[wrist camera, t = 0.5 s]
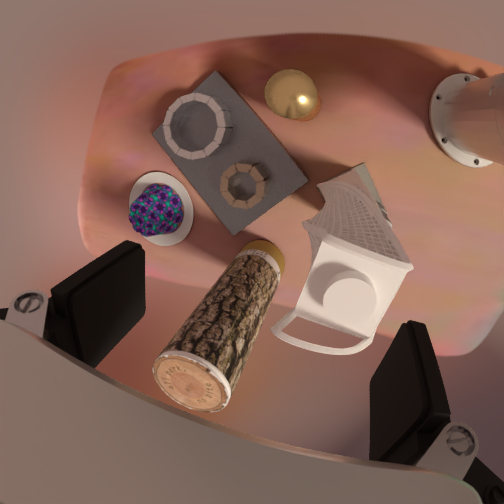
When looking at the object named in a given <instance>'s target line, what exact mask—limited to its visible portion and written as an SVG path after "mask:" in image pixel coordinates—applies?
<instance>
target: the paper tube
mask: <svg viewBox="0 0 504 504" xmlns="http://www.w3.org/2000/svg"><path fill="white" fill-rule="evenodd" d="M284 266H285V261H284V257H283V254H282V253H281V251H280V250H279V249H278V247H276V246H275V245H274V244H272V243H270V242H268V241H264V240H256V241H252V242H250V243H248V244H246V245H245V246H244V247H243V248H242V250H241V251H240V252H239V253H238V255H237V256H236V257H235V258H234V260H233V261H232V262H231V263H230V265H229V266H228V267H227V269H226V270H225V271H224V272H223V274H222V275H221V276H220V277H219V279H218V280H217V281H216V283H215V284H214V285H213V286H212V288H211V289H210V290H209V292H208V293H207V294H206V295H205V297H204V298H203V299H202V301H201V302H200V303H199V305H198V306H197V307H196V308H195V310H194V311H193V312H192V314H191V315H190V316H189V318H188V319H187V320H186V322H185V323H184V324H183V325H182V327H181V328H180V329H179V330H178V332H177V333H176V334H175V336H174V337H173V338H172V340H171V341H170V342H169V343H168V345H167V346H166V347H165V349H164V350H163V351H162V352H161V354H160V355H159V356H158V358H157V360H156V361H155V363H154V365H153V374H154V377H155V380H156V382H157V383H158V385H159V386H160V388H161V389H162V390H163V391H164V392H165V393H166V394H167V395H168V396H169V397H171V398H172V399H173V400H175V401H176V402H178V403H179V404H181V405H183V406H185V407H188V408H190V409H193V410H196V411H202V412H215V411H219V410H221V409H223V408H224V407H225V406H226V405H227V403H228V401H229V400H230V398H231V395H232V393H233V391H234V389H235V386H236V384H237V382H238V380H239V377H240V375H241V373H242V370H243V368H244V366H245V363H246V361H247V358H248V356H249V354H250V352H251V349H252V347H253V344H254V342H255V340H256V338H257V335H258V333H259V330H260V328H261V326H262V323H263V321H264V318H265V316H266V313H267V311H268V309H269V306H270V304H271V301H272V299H273V296H274V294H275V291H276V289H277V286H278V284H279V281H280V278H281V276H282V273H283V271H284Z"/></svg>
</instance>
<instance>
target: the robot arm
mask: <svg viewBox="0 0 504 504" xmlns="http://www.w3.org/2000/svg"><path fill="white" fill-rule="evenodd" d="M464 78H465V79H466V81H465V79H464ZM436 96H437V97H438V98H439V99H438V100H437V99H436ZM429 119H430V124H431V128H432V131H433V134H434V137H435V138H436V140H437V142H438V144H439V146H440V147H441V148H442V149H443V151H444V152H445V153H446V154H447V155H448V156H449V157H450V158H451V159H453V160H455V161H456V162H458V163H460V164H462V165H465V166H468V167H472V168H481V167H486V166H488V165H490V164H492V163H494V162H496V163H499V164H502V165H504V73H501V74H497V75H494V76H490V77H486V78H483V79H481V78H479V77H477V76H474V75H471V74H464V73H459V74H454V75H451V76H449V77H447V78H445V79H444V80H442V81H441V82H440V83H439V84H438V85H437V86H436V88H435V90H434V92H433V93H432V97H431V100H430V106H429ZM442 138H443V139H444V141H443V142H442V141H441V140H442ZM474 160H475V163H474ZM51 294H52V297H50V298H49V299H48V297H47V295H46V294H45V293H44V292H42V291H39V290H27V291H24V292H21V293H19V294H18V295H16V296H15V297H14V298H13V299H12V301H11V303H10V306H9V308H5V309H4V308H3V309H0V504H504V482H503V481H502V480H501V479H500V478H498V477H497V476H496V475H495V474H494V473H493V472H492V471H491V470H490V469H489V468H488V467H486V466H485V465H484V464H483V463H482V462H481V461H480V460H479V459H478V458H477V457H476V454H477V452H478V449H479V442H478V439H477V436H476V434H475V433H474V431H473V430H472V429H471V428H470V427H469V426H468V425H466V424H464V423H461V422H451V421H450V414H451V413H450V409H449V404H448V400H447V396H446V392H445V388H444V384H443V381H442V377H441V373H440V370H439V366H438V363H437V360H436V356H435V353H434V350H433V346H432V343H431V340H430V337H429V334H428V331H427V328H426V325H425V324H424V323H420V322H416V321H412V320H409V321H408V322H407V323H403V324H402V325H401V327H400V329H399V330H398V332H397V334H396V336H395V338H394V340H393V342H392V344H391V346H390V347H389V349H388V351H387V353H386V354H385V356H384V358H383V360H382V361H381V363H380V365H379V366H378V368H377V370H376V371H375V373H374V375H373V377H372V378H371V381H370V453H369V460H365V459H358V458H352V457H346V456H340V455H335V454H329V453H324V452H319V451H314V450H309V449H305V448H300V447H296V446H292V445H287V444H284V443H280V442H276V441H272V440H268V439H265V438H261V437H258V436H254V435H251V434H248V433H244V432H241V431H238V430H235V429H232V428H228V427H226V426H223V425H220V424H217V423H214V422H211V421H209V420H206V419H203V418H200V417H197V416H195V415H192V414H190V413H187V412H185V411H182V410H180V409H177V408H175V407H173V406H170V405H168V404H165V403H163V402H161V401H158V400H156V399H154V398H152V397H150V396H147V395H145V394H143V393H141V392H139V391H136V390H135V389H132V388H131V387H128V386H126V385H124V384H122V383H120V382H118V381H116V380H115V379H112V378H111V377H109V376H107V375H105V374H103V373H101V372H99V371H98V370H96V369H94V368H95V367H96V366H97V365H98V364H99V363H100V362H101V361H102V359H104V357H105V356H106V355H107V354H108V353H109V352H110V351H111V350H112V349H113V348H114V347H115V346H116V345H117V344H118V343H119V342H120V340H121V339H122V338H123V337H124V336H125V335H126V334H127V333H128V332H129V331H130V330H131V329H132V328H133V327H134V326H135V325H136V323H137V322H139V320H140V319H141V318H142V317H143V316H144V314H145V310H146V309H145V308H146V306H145V251H144V249H142V246H141V245H140V244H138V243H135V242H132V241H129V240H126V241H124V242H122V243H120V244H119V245H117V246H116V247H114V248H112V249H111V250H109V251H108V252H106V253H104V254H103V255H101V256H100V257H98V258H97V259H95V260H94V261H92V262H90V263H89V264H87V265H86V266H84V267H83V268H81V269H80V270H78V271H77V272H75V273H74V274H72V275H71V276H69V277H68V278H66V279H65V280H63V281H62V282H60V283H59V284H58V285H56V286H55V287H53V288H52V289H51Z"/></svg>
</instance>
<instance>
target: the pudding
mask: <svg viewBox="0 0 504 504" xmlns="http://www.w3.org/2000/svg"><path fill="white" fill-rule="evenodd" d="M153 183H164V184H167V185H169V186H170V187H172V188H173V189H174V190H175V191H176V192H177V193H178V194H179V196H180V198H181V199H180V198H179V196H178V195H175V194H174V193H173V190H172V189H171V188H170V187H169V186H166V185H164V186H161V187H160V186H159V185H158V184H153ZM151 184H153V185H151ZM149 185H151V186H150V187H149V188H148V189H146V190H145V191H144V192H143V190H144V189H145V188H146V187H147V186H149ZM142 192H143V193H142ZM181 200H182V202H181ZM182 203H183V206H184V218H183V212H182V210H181V209H180V208H181V205H182ZM129 210H130V214H129V220H130V222H131V223H132V224H133V228H134V230H135V231H136V232H140V234H141V235H142V236H143V237H144V238H146V239H147V240H149V241H150V242H152V243H154V244H157V245H161V246H171V245H175V244H177V243H179V242H181V241H182V240H183V239H184V238H185V237H186V236H187V235H188V233H189V231H190V229H191V227H192V223H193V206H192V201H191V199H190V196H189V194H188V192H187V190H186V189H185V188H184V186H183V185H182V184H181V183H180V182H179V181H178V180H177V179H176V178H174V177H173V176H171V175H168V174H166V173H162V172H152V173H148V174H146V175H143V176H142V177H141V178H139V179H138V181H137V182H136V183H135V184H134V186H133V188H132V190H131V193H130V198H129ZM182 219H183V222H182V224H181V226H180V227H179V228H178V223H179V222H181V221H182ZM177 228H178V229H177ZM176 229H177V230H176ZM175 230H176V231H175ZM173 231H175V232H173ZM170 232H173V233H171V234H165V233H170Z"/></svg>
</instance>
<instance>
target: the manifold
mask: <svg viewBox="0 0 504 504" xmlns="http://www.w3.org/2000/svg"><path fill="white" fill-rule="evenodd" d="M168 109H169V110H167V113H166V116H165V119H164V122H163V123H162V124H161V125H160V126H159V127H158V128H157V129H156V130H155V132H154V133H153V134H152V135H153V136H154V138H155V139H156V140H157V141H158V143H159V144H160V145H161V146H162V148H163V149H164V150H165V151H166V153H167V154H168V155H169V156H170V158H171V159H172V160H173V161H174V163H175V164H176V165H177V166H178V168H179V169H180V170H181V171H182V173H183V174H184V175H185V176H186V178H187V179H188V180H189V182H190V183H191V184H192V185H193V187H194V188H195V189H196V190H197V192H198V193H199V194H200V195H201V197H202V198H203V199H204V200H205V202H206V203H207V204H208V205H209V207H210V208H211V209H212V210H213V212H214V213H215V214H216V215H217V217H218V218H219V219H220V220H221V222H222V223H223V224H224V225H225V227H226V228H227V229H228V230H229V231H230V233H231V234H232V235H233V236H234V235H235V234H237V233H238V232H239V231H241V230H242V229H243V228H245V227H246V226H248V225H249V224H250V223H252V222H253V221H254V220H256V219H257V218H258V217H260V216H261V215H262V214H264V213H265V212H267V211H268V210H269V209H271V208H272V207H273V206H275V205H276V204H277V203H279V202H280V201H282V200H283V199H284V198H286V197H287V196H288V195H290V194H291V193H293V192H294V191H295V190H297V189H298V188H300V187H301V186H302V185H304V184H305V183H306V182H308V181H309V178H308V177H307V175H306V174H305V173H304V171H303V170H302V169H301V167H300V166H299V165H298V164H297V162H296V161H295V160H294V158H293V157H292V156H291V155H290V153H289V152H288V151H287V150H286V148H285V147H284V146H283V145H282V143H281V142H280V141H279V140H278V138H277V137H276V136H275V135H274V134H273V132H272V131H271V130H270V129H269V128H268V126H267V125H266V124H265V123H264V122H263V120H262V119H261V118H260V117H259V116H258V115H257V113H256V112H255V111H254V110H253V109H252V108H251V106H250V105H249V104H248V103H247V102H246V101H245V100H244V98H243V97H242V96H241V95H240V94H239V93H238V92H237V91H236V89H235V88H234V87H233V86H232V85H231V84H230V83H229V82H228V81H227V80H226V78H225V77H224V76H223V75H222V74H221V73H220V72H218V71H216V70H215V71H214V72H213V73H212V74H211V75H210V76H209V77H208V78H207V79H206V80H205V81H203V82H202V83H201V84H200V85H199V86H198V87H197V88H196V89H195V90H194V91H193V92H192V93H191V94H187V95H184V96H181V97H180V98H178V99H177V100H176V101H175V102H174V103H173V104H172V105H171V106H170V107H169V108H168Z"/></svg>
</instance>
